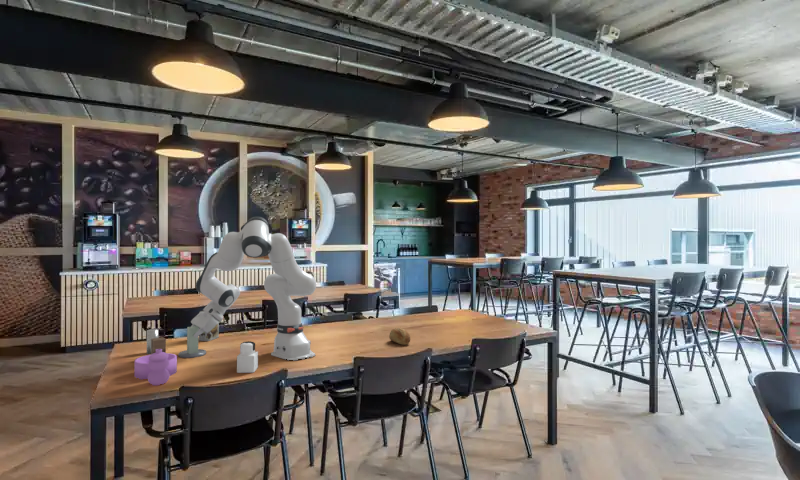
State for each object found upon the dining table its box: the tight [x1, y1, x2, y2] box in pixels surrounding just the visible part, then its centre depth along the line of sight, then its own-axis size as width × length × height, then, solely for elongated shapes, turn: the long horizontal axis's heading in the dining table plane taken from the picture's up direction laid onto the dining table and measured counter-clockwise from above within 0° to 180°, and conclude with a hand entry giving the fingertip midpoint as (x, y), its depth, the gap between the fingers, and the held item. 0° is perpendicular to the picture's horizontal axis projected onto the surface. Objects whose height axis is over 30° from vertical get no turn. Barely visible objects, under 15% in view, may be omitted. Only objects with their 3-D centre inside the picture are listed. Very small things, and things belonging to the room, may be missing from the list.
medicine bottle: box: [236, 340, 259, 374], centre depth 187 cm, size 7×7×12 cm
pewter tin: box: [146, 328, 160, 355], centre depth 212 cm, size 5×5×11 cm
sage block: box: [186, 326, 199, 354], centre depth 210 cm, size 4×4×12 cm
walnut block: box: [150, 337, 167, 355], centre depth 203 cm, size 5×5×9 cm
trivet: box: [177, 348, 207, 359], centre depth 210 cm, size 12×12×1 cm
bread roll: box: [389, 327, 411, 346], centre depth 237 cm, size 10×15×8 cm, turn 33°
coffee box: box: [198, 309, 220, 342], centre depth 241 cm, size 9×6×16 cm
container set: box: [133, 349, 178, 386], centre depth 177 cm, size 25×15×13 cm, turn 33°
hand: (191, 335), depth 209 cm, fingers open, 8 cm apart
